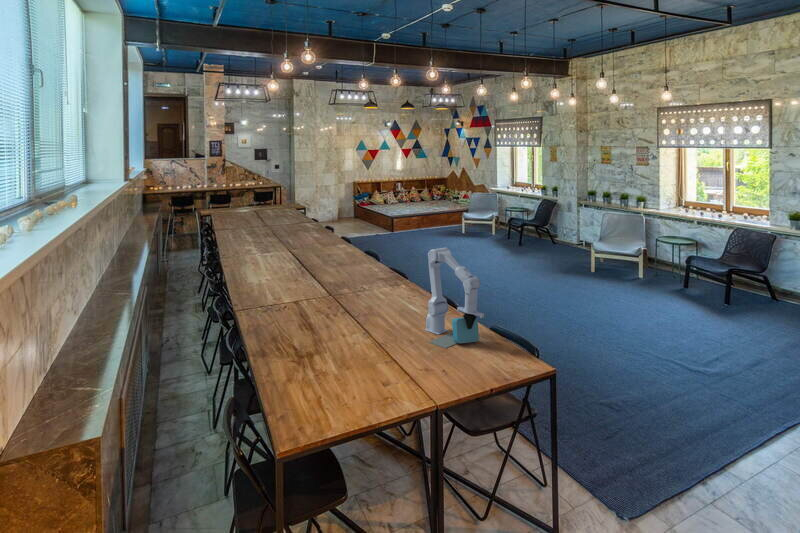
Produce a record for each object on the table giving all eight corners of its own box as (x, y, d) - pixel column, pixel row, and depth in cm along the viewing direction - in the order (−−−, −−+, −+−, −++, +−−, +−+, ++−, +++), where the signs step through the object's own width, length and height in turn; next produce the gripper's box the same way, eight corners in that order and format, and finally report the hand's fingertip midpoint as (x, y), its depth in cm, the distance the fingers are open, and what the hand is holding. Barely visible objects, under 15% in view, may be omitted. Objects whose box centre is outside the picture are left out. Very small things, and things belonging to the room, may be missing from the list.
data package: (474, 340, 249) (473, 316, 249) (479, 341, 245) (477, 316, 245) (453, 342, 245) (451, 318, 245) (457, 343, 241) (456, 318, 241)
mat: (428, 342, 246) (428, 341, 246) (458, 330, 263) (458, 329, 263) (445, 348, 239) (445, 347, 239) (475, 335, 255) (475, 335, 255)
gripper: (488, 303, 237) (486, 330, 240) (463, 296, 246) (462, 322, 250) (479, 306, 232) (478, 334, 235) (454, 299, 242) (454, 326, 245)
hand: (469, 328), depth 242 cm, fingers closed
